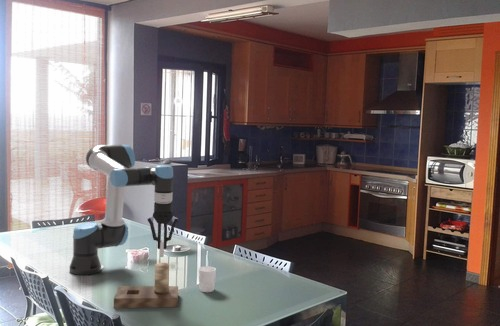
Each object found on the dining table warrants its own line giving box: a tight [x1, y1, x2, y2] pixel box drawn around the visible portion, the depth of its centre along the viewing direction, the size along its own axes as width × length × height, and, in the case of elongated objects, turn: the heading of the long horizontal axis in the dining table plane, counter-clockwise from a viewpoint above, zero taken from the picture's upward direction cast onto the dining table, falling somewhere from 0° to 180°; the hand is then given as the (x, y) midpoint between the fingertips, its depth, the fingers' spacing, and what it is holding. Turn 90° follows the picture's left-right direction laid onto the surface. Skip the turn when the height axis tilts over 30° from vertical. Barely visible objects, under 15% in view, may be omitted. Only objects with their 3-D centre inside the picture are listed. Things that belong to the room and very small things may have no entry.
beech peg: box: [154, 262, 170, 295], centre depth 213 cm, size 6×6×16 cm
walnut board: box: [113, 285, 179, 309], centre depth 213 cm, size 26×14×4 cm, turn 97°
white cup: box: [198, 265, 217, 293], centre depth 229 cm, size 8×8×10 cm
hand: (161, 256), depth 212 cm, fingers closed
